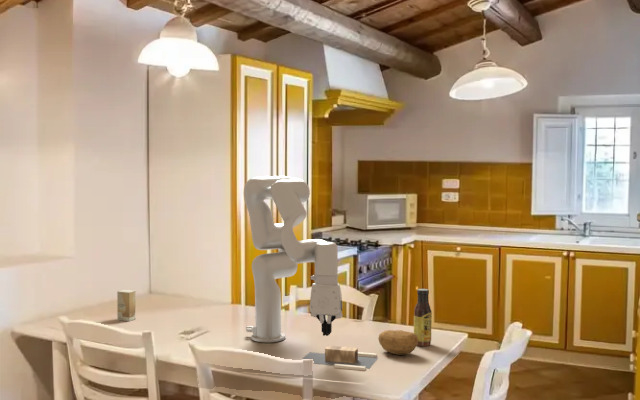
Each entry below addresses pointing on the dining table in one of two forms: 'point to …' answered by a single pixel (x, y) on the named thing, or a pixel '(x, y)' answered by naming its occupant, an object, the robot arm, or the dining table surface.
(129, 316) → the skincare box
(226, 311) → the dining table surface
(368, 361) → the plate
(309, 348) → the dining table surface
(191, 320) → the dining table surface
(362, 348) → the dining table surface
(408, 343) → the potato
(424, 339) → the sauce bottle
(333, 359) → the oak block
